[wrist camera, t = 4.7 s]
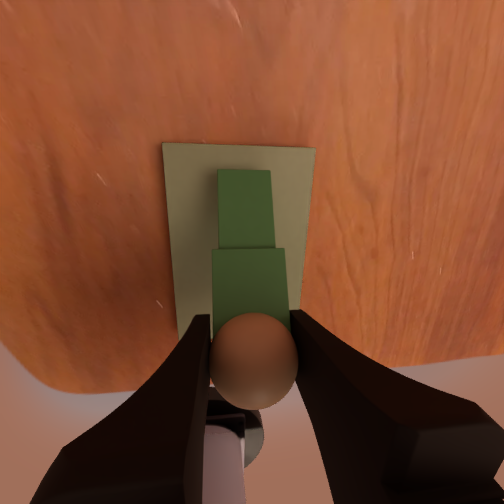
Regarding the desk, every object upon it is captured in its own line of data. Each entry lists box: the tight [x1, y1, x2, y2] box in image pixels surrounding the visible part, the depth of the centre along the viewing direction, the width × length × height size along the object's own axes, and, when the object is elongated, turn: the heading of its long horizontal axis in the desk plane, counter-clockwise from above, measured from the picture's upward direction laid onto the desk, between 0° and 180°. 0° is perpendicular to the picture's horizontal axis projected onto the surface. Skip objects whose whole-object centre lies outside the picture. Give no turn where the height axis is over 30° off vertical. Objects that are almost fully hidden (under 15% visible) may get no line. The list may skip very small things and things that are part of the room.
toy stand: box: [162, 142, 316, 341], centre depth 16 cm, size 12×8×1 cm, turn 178°
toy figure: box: [209, 169, 298, 410], centre depth 11 cm, size 10×4×4 cm
